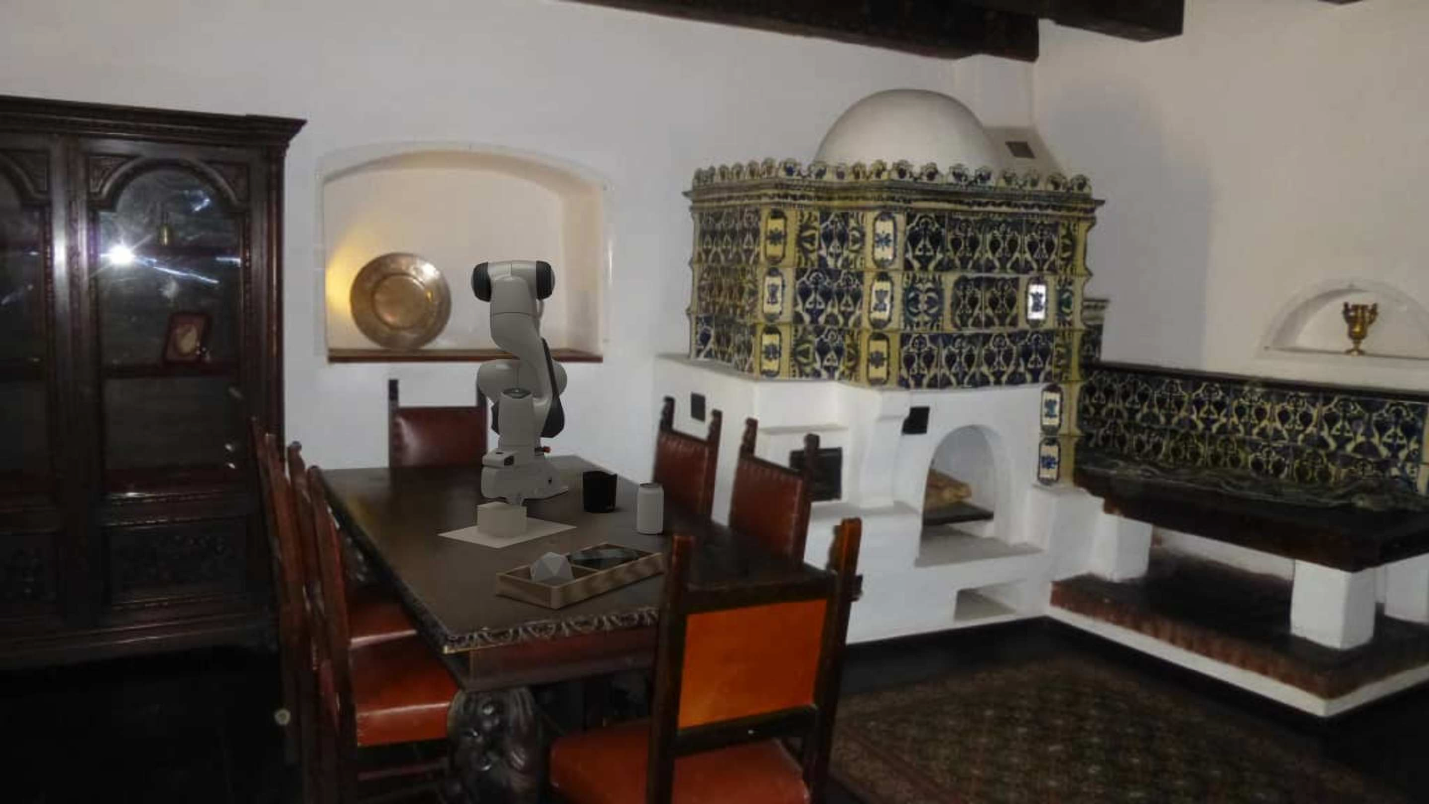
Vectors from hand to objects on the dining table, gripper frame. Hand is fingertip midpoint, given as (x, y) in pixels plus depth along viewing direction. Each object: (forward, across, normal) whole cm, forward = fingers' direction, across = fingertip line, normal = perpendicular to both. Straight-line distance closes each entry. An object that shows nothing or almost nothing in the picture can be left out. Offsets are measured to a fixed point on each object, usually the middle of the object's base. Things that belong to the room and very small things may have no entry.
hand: (515, 510), depth 265 cm
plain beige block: (+2, +1, 0) cm, 2 cm away
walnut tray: (+5, +24, +42) cm, 49 cm away
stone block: (+5, +17, +41) cm, 45 cm away
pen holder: (+6, -33, 0) cm, 33 cm away
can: (+5, -21, +26) cm, 34 cm away
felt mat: (+5, +2, 0) cm, 6 cm away
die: (+5, +34, +42) cm, 54 cm away
